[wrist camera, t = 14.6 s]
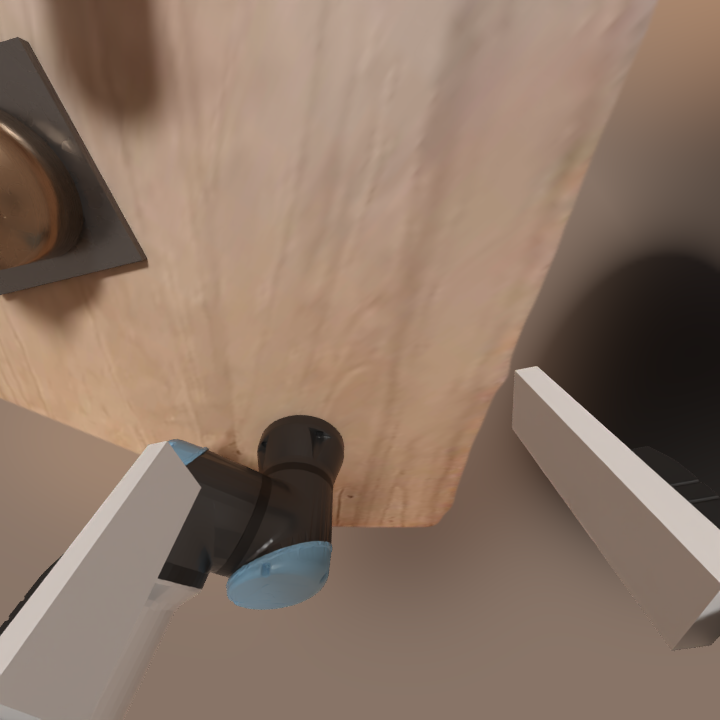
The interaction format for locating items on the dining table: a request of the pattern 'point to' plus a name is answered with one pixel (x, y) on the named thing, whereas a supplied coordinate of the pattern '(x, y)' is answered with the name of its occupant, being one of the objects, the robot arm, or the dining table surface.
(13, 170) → the post stand
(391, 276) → the dining table surface
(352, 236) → the dining table surface
